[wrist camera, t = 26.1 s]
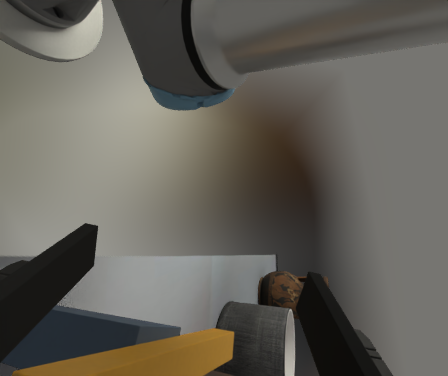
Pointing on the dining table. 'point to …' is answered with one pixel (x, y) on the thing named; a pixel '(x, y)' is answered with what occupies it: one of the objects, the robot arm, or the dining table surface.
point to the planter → (259, 340)
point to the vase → (281, 290)
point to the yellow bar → (149, 358)
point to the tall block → (82, 336)
